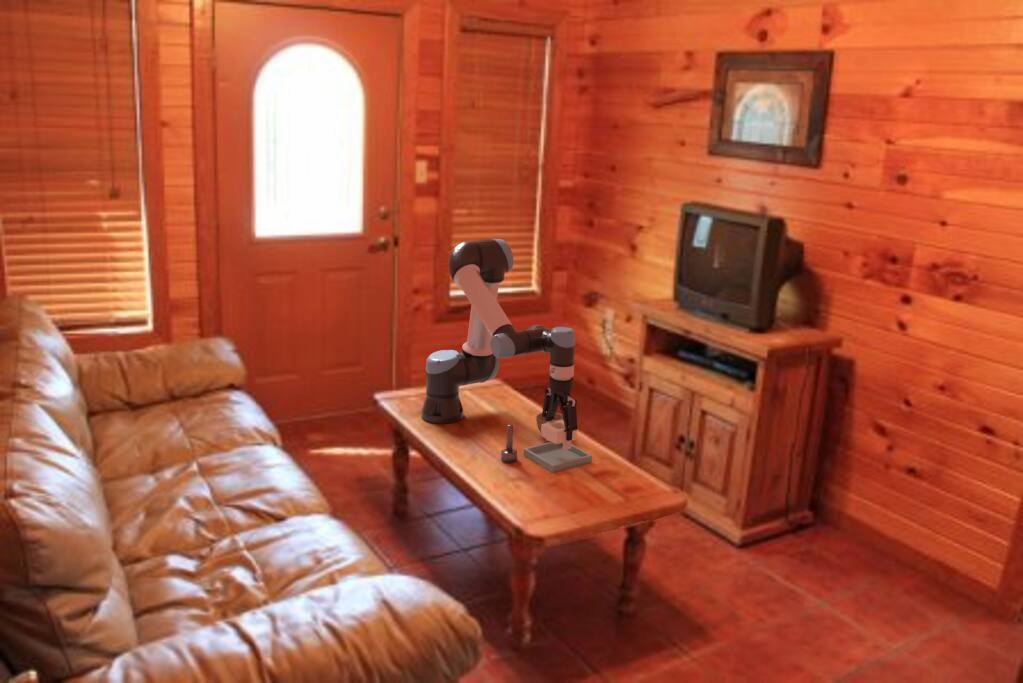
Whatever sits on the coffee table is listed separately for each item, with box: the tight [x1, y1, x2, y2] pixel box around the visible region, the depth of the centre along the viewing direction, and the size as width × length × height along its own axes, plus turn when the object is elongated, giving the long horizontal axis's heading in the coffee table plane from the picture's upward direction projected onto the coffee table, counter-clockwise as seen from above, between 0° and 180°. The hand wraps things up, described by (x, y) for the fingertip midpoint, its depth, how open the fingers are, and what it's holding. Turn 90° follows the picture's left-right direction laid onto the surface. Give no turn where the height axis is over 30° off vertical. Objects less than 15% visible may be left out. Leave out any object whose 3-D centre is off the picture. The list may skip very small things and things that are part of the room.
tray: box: [523, 441, 593, 474], centre depth 279 cm, size 16×16×2 cm
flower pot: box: [535, 412, 564, 440], centre depth 296 cm, size 10×10×7 cm
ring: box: [540, 420, 578, 444], centre depth 276 cm, size 8×8×4 cm
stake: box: [500, 423, 518, 464], centre depth 275 cm, size 5×5×12 cm
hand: (558, 444), depth 278 cm, fingers closed on ring, 8 cm apart
